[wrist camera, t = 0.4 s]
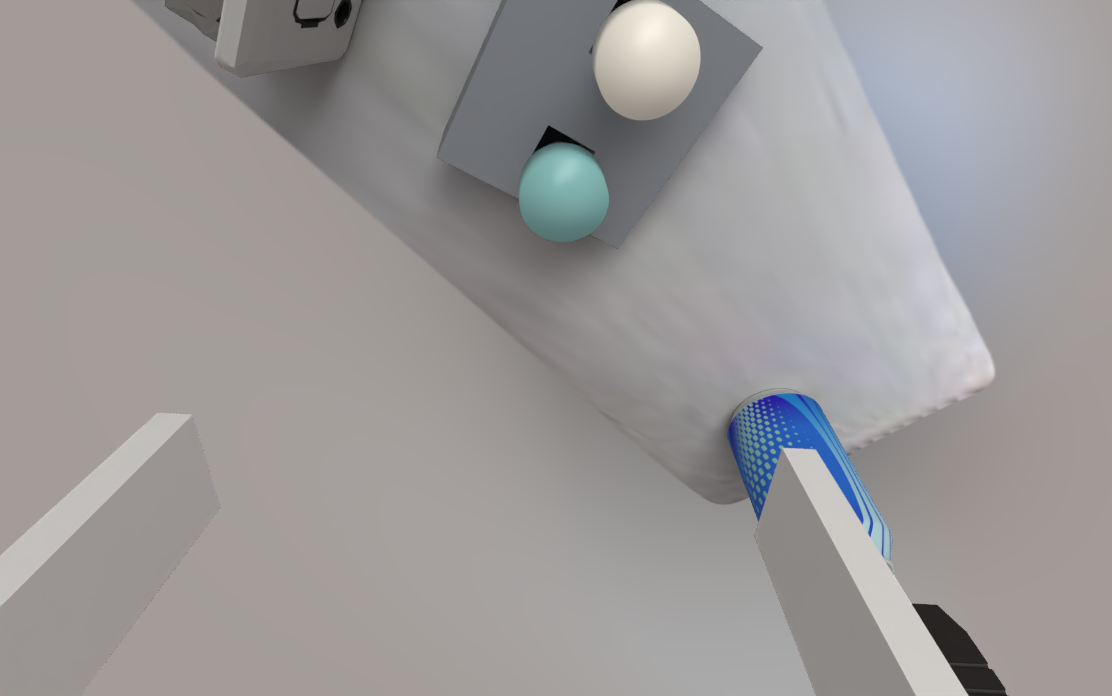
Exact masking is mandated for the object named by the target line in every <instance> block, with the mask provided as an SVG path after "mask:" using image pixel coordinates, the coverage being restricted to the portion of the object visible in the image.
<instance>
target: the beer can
mask: <svg viewBox="0 0 1112 696" xmlns="http://www.w3.org/2000/svg"><path fill="white" fill-rule="evenodd" d="M727 435H728V440H729V443H730V446H731V448H732V451H733V454H734V457H735V459H736V462H737V465H738V467H739V470H740V473H741V476H742V478H743V481H744V484H745V486H746V489H747V492H748V495H749V497H750V500H751V503H752V505H753V508H754V511H755V513H756V516H757V518H758V522H759V519H760V516H761V513H762V510H763V507H764V503H765V500H766V497H767V494H768V491H769V488H770V484H771V481H772V478H773V475H774V472H775V469H776V465H777V462H778V459H779V456H780V453H781V450H782V448H797V449H815V450H816V451H817V452H818V454H819V455H820V457H821V459H822V460H823V462H824V464H825V465H826V467H827V468H828V470H829V472H830V473H831V475H832V476H833V478H834V480H835V481H836V483H837V484H838V486H839V488H840V489H841V491H842V493H843V494H844V496H845V497H846V499H847V501H848V502H849V504H850V505H851V507H852V509H853V510H854V512H855V513H856V515H857V517H858V518H859V520H860V522H861V523H862V525H863V526H864V528H865V530H866V531H867V533H868V534H869V536H870V538H871V539H872V541H873V543H874V544H875V546H876V547H877V549H878V551H879V552H880V554H881V555H882V557H883V559H884V560H885V562H886V563H887V565H888V567H889V568H890V570H891V572H892V573H893V575H894V571H895V570H894V566H893V564H892V563H891V562H890V559H891V549H892V535H891V532H890V530H889V528H888V527H887V525H886V523H885V521H884V519H883V518H882V516H881V514H880V512H879V511H878V509H877V507H876V505H875V503H874V502H873V500H872V498H871V496H870V495H869V493H868V491H867V489H866V487H865V486H864V484H863V482H862V480H861V479H860V477H859V475H858V473H857V472H856V470H855V468H854V466H853V464H852V463H851V461H850V459H849V457H848V455H847V454H846V452H845V450H844V448H843V447H842V445H841V443H840V441H839V440H838V438H837V436H836V434H835V432H834V431H833V429H832V427H831V425H830V424H829V422H828V420H827V418H826V416H825V415H824V413H823V411H822V409H821V408H820V406H819V404H818V403H817V402H816V401H815V400H814V399H812V398H810V397H808V396H806V395H803V394H800V393H798V392H796V391H793V390H789V389H771V390H766V391H763V392H760V393H757V394H755V395H753V396H751V397H749V398H748V399H746V400H745V401H744V402H742V403H741V404H740V405H739V406H738V408H737V409H736V410H735V412H734V414H733V417H732V420H731V422H730V424H729V427H728V431H727Z"/></svg>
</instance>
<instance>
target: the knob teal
mask: <svg viewBox="0 0 1112 696" xmlns="http://www.w3.org/2000/svg"><path fill="white" fill-rule="evenodd" d="M608 204H609V194H608V189H607V185H606V182H605V178H604V175H603V171H602V168H601V166H600V164H599V162H598V161H597V159H596V158H595V157H594V156H593V155H592V154H591V153H590V152H589V151H588V150H586V149H585V148H583V147H581V146H578V145H575V144H571V143H565V142H562V141H555V142H552V143H550V144H548V145H547V146H545V147H543V148H541V149H539V150H538V151H536V152H535V153H534V154H533V155H531V156H530V158H529V159H528V160H527V161H526V163H525V164H524V166H523V168H522V171H521V174H520V179H519V207H520V212H521V215H522V218H523V220H524V222H525V223H526V225H527V226H528V227H529V228H530V229H531V230H532V231H533V232H534V233H535V234H537V235H538V236H540V237H542V238H544V239H546V240H549V241H553V242H572V241H576V240H579V239H581V238H584V237H586V236H587V235H589V234H590V233H592V232H593V231H594V230H595V229H596V228H597V227H598V226H599V225H600V224H601V222H602V221H603V219H604V217H605V215H606V213H607V209H608Z"/></svg>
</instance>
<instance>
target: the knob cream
mask: <svg viewBox="0 0 1112 696" xmlns="http://www.w3.org/2000/svg"><path fill="white" fill-rule="evenodd" d="M700 60H701V56H700V46H699V42H698V38H697V36H696V34H695V31H694V30H693V28H692V26H691V25H690V24H689V23H688V21H687V20H686V19H685V18H684V17H682V16H681V15H680V14H679V13H678V12H677V11H676V10H674V9H673V8H672V7H671V6H669V5H668V4H666V3H664V2H662V1H659V0H632V1H629V2H627V3H625V4H623V5H621V6H619V7H618V8H617V9H615V10H614V11H613V12H612V13H611V14H610V15H609V16H608V17H607V18H606V19H605V21H604V22H603V23H602V25H601V26H600V28H599V30H598V32H597V34H596V37H595V40H594V44H593V48H592V67H593V72H594V76H595V79H596V81H597V84H598V87H599V89H600V92H601V94H602V96H603V98H604V99H605V101H606V102H607V104H608V105H609V106H610V107H611V108H612V109H613V110H614V111H615V112H617V113H618V114H620V115H622V116H624V117H626V118H629V119H633V120H652V119H656V118H659V117H662V116H664V115H666V114H668V113H670V112H671V111H673V110H674V109H675V108H677V107H678V106H679V105H680V104H681V103H682V102H683V101H684V100H685V99H686V97H687V96H688V95H689V93H690V92H691V90H692V88H693V86H694V84H695V82H696V79H697V76H698V73H699V68H700Z"/></svg>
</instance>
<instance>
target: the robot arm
mask: <svg viewBox="0 0 1112 696" xmlns="http://www.w3.org/2000/svg"><path fill="white" fill-rule="evenodd" d="M219 509H220V504H219V501H218V497H217V494H216V491H215V487H214V484H213V481H212V478H211V474H210V471H209V468H208V464H207V461H206V458H205V454H204V451H203V448H202V444H201V441H200V438H199V434H198V431H197V428H196V424H195V421H194V418H193V415H189V414H171V413H157V414H156V415H155V416H153V417H152V418H151V419H150V420H149V421H148V422H147V423H146V424H145V425H144V426H142V427H141V428H140V429H139V430H138V431H137V432H136V433H135V434H134V435H133V436H131V437H130V438H129V439H128V440H127V441H126V442H125V443H124V444H123V445H122V446H120V447H119V448H118V449H117V450H116V451H115V452H114V453H113V454H112V455H111V456H109V457H108V458H107V459H106V460H105V461H104V462H103V463H102V464H101V465H100V466H98V467H97V468H96V469H95V470H94V471H93V472H92V473H91V474H90V475H89V476H87V477H86V478H85V479H84V480H83V481H82V482H81V483H80V484H79V485H77V486H76V487H75V488H74V489H73V490H72V491H71V492H70V493H69V494H68V495H66V496H65V497H64V498H63V499H62V500H61V501H60V502H59V503H58V504H57V505H55V506H54V507H53V508H52V509H51V510H50V511H49V512H48V513H47V514H46V515H44V516H43V517H42V518H41V519H40V520H39V521H38V522H37V523H36V524H35V525H34V526H32V527H31V528H30V529H29V530H28V531H27V532H26V533H25V534H23V535H22V536H21V537H20V538H19V539H18V540H17V541H16V542H15V543H14V544H12V545H11V546H10V547H9V548H8V549H7V550H6V551H5V552H4V553H3V554H1V555H0V696H81V695H82V694H83V693H84V691H85V690H86V689H87V687H88V686H89V684H90V683H91V681H92V680H93V679H94V678H95V676H96V675H97V674H98V672H99V671H100V670H101V668H102V667H103V666H104V664H105V663H106V662H107V660H108V659H109V657H110V656H111V655H112V653H113V652H114V651H115V649H116V648H117V647H118V645H119V644H120V643H121V641H122V640H123V639H124V637H125V636H126V635H127V633H128V632H129V630H130V629H131V628H132V626H133V625H134V624H135V622H136V621H137V620H138V618H139V617H140V615H141V614H142V613H143V612H144V610H145V609H146V608H147V606H148V605H149V603H150V602H151V601H152V599H153V598H154V596H155V595H156V594H157V593H158V591H159V590H160V588H161V587H162V586H163V585H164V583H165V582H166V581H167V579H168V578H169V576H170V575H171V574H172V572H173V571H174V570H175V568H176V567H177V566H178V564H179V563H180V562H181V560H182V559H183V558H184V556H185V555H186V554H187V552H188V551H189V549H190V548H191V547H192V545H193V544H194V543H195V541H196V540H197V539H198V537H199V536H200V535H201V533H202V532H203V531H204V529H205V528H206V527H207V525H208V524H209V522H210V521H211V520H212V518H213V517H214V516H215V514H216V513H217V512H218V510H219ZM754 537H755V539H756V541H757V544H758V547H759V549H760V552H761V555H762V557H763V560H764V562H765V565H766V567H767V570H768V573H769V575H770V578H771V581H772V583H773V586H774V588H775V591H776V593H777V596H778V599H779V601H780V604H781V606H782V609H783V612H784V614H785V617H786V619H787V622H788V624H789V627H790V630H791V632H792V635H793V637H794V640H795V643H796V645H797V648H798V650H799V653H800V656H801V658H802V660H803V663H804V666H805V668H806V671H807V674H808V676H809V679H810V682H811V684H812V687H813V689H814V692H815V694H816V696H1007V695H1006V693H1005V688H1004V686H1003V685H1002V683H1001V682H1000V680H999V679H998V677H997V676H996V675H995V673H994V671H993V670H992V669H989V668H988V665H987V664H988V663H987V661H986V660H985V658H984V657H983V655H982V654H981V652H980V651H979V650H978V648H977V647H976V645H975V644H974V642H973V641H972V640H971V638H970V636H969V635H968V633H967V632H966V631H965V630H964V629H963V628H962V627H960V626H959V625H958V624H957V623H956V622H955V621H954V620H953V619H952V618H951V617H950V616H949V615H947V614H946V613H945V612H944V611H943V610H942V609H941V608H940V607H939V606H938V605H928V604H911V602H910V601H909V599H908V597H907V596H906V594H905V593H904V591H903V589H902V588H901V586H900V584H899V583H898V581H897V580H896V578H895V577H894V575H893V573H892V572H891V570H890V568H889V567H888V565H887V563H886V562H885V560H884V559H883V557H882V555H881V554H880V552H879V551H878V549H877V547H876V546H875V544H874V543H873V541H872V539H871V538H870V536H869V534H868V533H867V531H866V530H865V528H864V526H863V525H862V523H861V522H860V520H859V518H858V517H857V515H856V513H855V512H854V510H853V509H852V507H851V505H850V504H849V502H848V501H847V499H846V497H845V496H844V494H843V493H842V491H841V489H840V488H839V486H838V484H837V483H836V481H835V480H834V478H833V476H832V475H831V473H830V472H829V470H828V468H827V467H826V465H825V464H824V462H823V460H822V459H821V457H820V455H819V454H818V452H817V451H816V450H815V449H797V448H782V450H781V453H780V456H779V459H778V462H777V465H776V469H775V472H774V475H773V478H772V481H771V484H770V488H769V491H768V494H767V497H766V500H765V503H764V507H763V510H762V513H761V516H760V519H759V522H758V526H757V529H756V532H755V535H754Z"/></svg>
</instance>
